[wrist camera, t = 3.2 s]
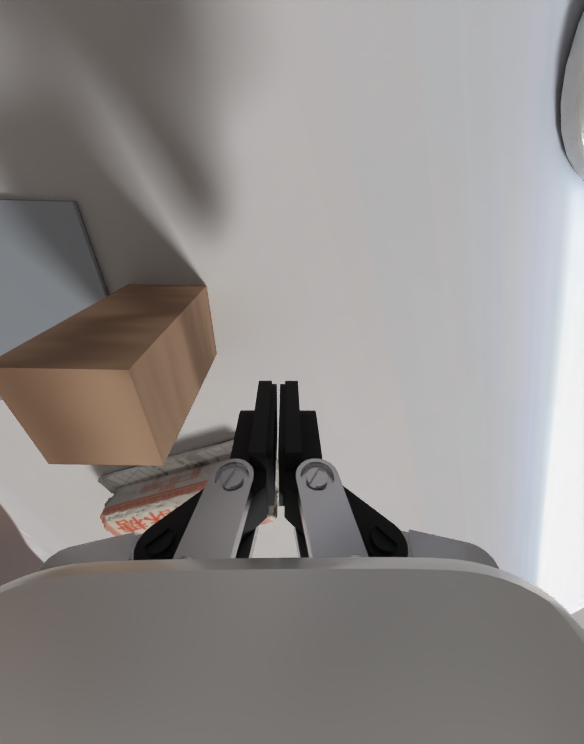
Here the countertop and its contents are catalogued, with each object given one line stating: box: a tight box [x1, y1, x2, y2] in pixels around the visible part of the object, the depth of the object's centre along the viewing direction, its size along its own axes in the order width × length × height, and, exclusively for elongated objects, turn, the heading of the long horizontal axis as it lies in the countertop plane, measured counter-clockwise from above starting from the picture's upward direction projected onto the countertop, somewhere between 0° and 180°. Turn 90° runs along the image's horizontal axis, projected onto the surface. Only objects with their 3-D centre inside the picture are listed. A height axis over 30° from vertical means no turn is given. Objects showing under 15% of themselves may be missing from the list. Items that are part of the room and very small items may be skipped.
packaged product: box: [98, 439, 279, 536], centre depth 27 cm, size 18×5×10 cm
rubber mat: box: [0, 200, 109, 400], centre depth 19 cm, size 12×14×1 cm
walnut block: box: [0, 284, 217, 466], centre depth 15 cm, size 5×5×10 cm
